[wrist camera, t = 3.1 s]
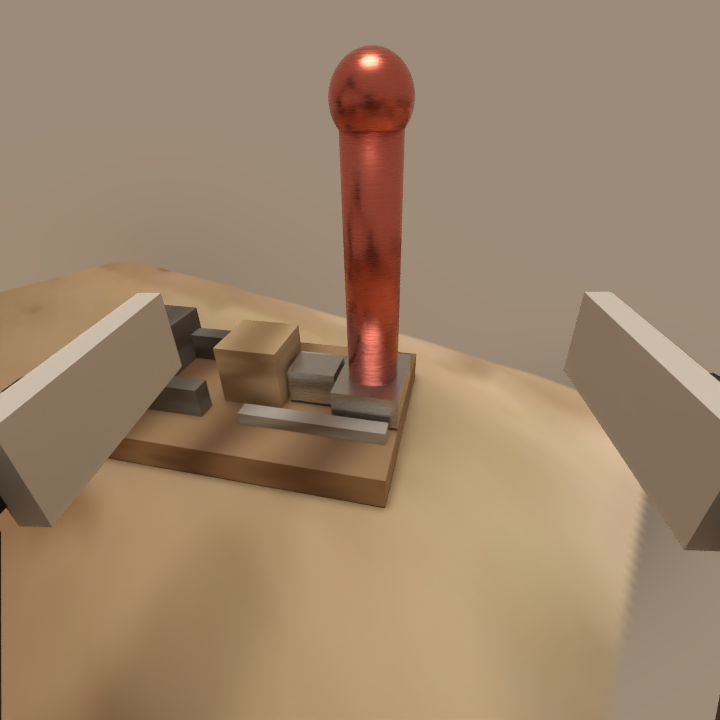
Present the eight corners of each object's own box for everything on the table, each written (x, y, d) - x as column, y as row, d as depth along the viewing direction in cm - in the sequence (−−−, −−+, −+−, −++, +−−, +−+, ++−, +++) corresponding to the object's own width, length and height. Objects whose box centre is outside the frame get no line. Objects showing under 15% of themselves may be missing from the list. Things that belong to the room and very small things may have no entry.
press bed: (74, 451, 26) (37, 378, 24) (191, 350, 37) (175, 292, 34) (385, 507, 22) (386, 426, 19) (414, 375, 33) (418, 311, 30)
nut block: (225, 401, 27) (212, 348, 25) (252, 368, 31) (243, 319, 29) (282, 408, 27) (274, 354, 24) (303, 374, 30) (298, 324, 28)
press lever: (282, 412, 26) (227, 45, 16) (310, 368, 30) (279, 57, 21) (397, 428, 24) (410, 34, 15) (409, 379, 29) (425, 50, 19)
